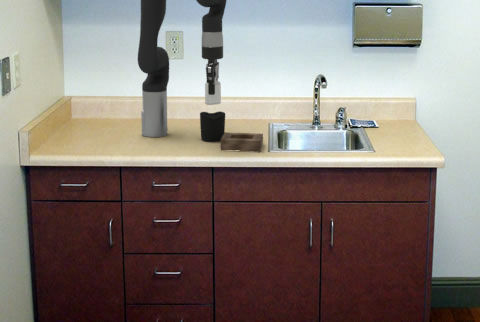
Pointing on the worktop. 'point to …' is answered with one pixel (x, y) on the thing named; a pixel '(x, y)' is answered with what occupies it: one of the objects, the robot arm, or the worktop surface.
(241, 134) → the recessed rectangular tray
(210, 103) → the eye dropper bottle
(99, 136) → the worktop surface
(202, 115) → the pen holder
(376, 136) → the worktop surface
